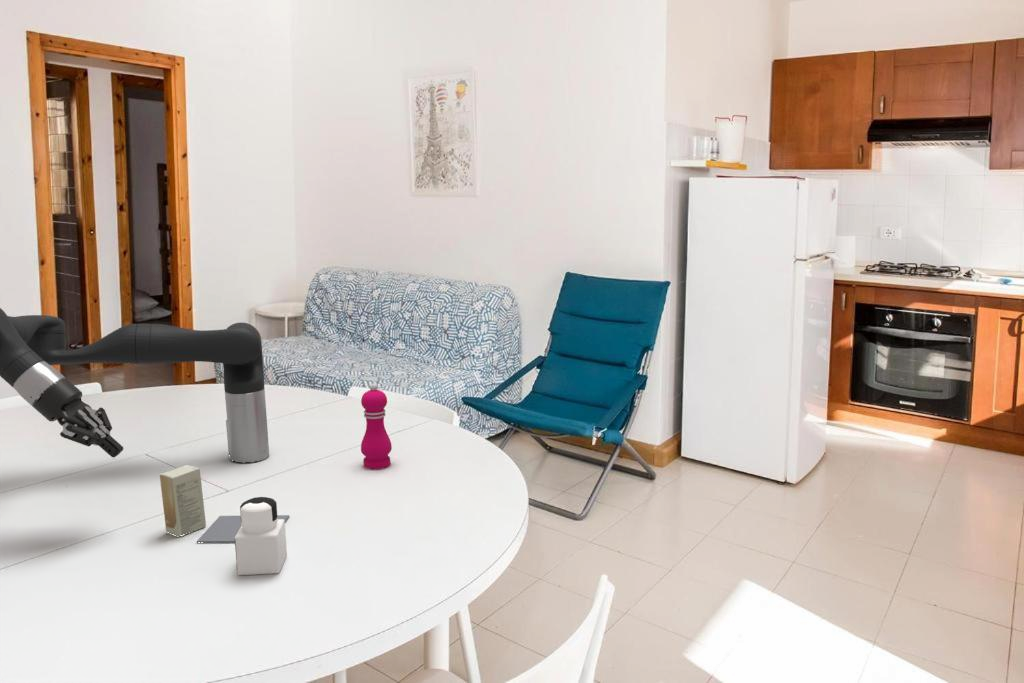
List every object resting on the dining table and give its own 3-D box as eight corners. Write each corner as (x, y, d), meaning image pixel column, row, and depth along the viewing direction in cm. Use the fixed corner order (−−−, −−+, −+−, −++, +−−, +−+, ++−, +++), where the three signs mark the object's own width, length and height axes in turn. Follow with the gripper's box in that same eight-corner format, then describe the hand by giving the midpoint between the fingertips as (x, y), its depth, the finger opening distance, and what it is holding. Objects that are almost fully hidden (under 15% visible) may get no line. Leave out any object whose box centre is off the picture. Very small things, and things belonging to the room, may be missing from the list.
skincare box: (193, 522, 162) (188, 463, 159) (207, 527, 159) (201, 467, 157) (164, 533, 156) (158, 473, 154) (177, 538, 154) (171, 477, 152)
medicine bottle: (246, 557, 146) (241, 494, 144) (287, 555, 146) (283, 492, 144) (237, 576, 139) (231, 509, 137) (279, 574, 139) (275, 508, 137)
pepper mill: (386, 471, 189) (382, 387, 186) (356, 469, 191) (352, 386, 187) (396, 461, 196) (393, 380, 193) (368, 459, 198) (364, 379, 194)
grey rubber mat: (196, 543, 152) (196, 541, 152) (220, 517, 164) (219, 515, 164) (271, 542, 152) (271, 540, 152) (289, 517, 163) (289, 515, 163)
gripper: (55, 395, 160) (123, 455, 162) (14, 414, 147) (88, 479, 149) (79, 369, 158) (147, 429, 161) (39, 385, 145) (114, 451, 148)
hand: (118, 453), depth 155 cm, fingers closed
